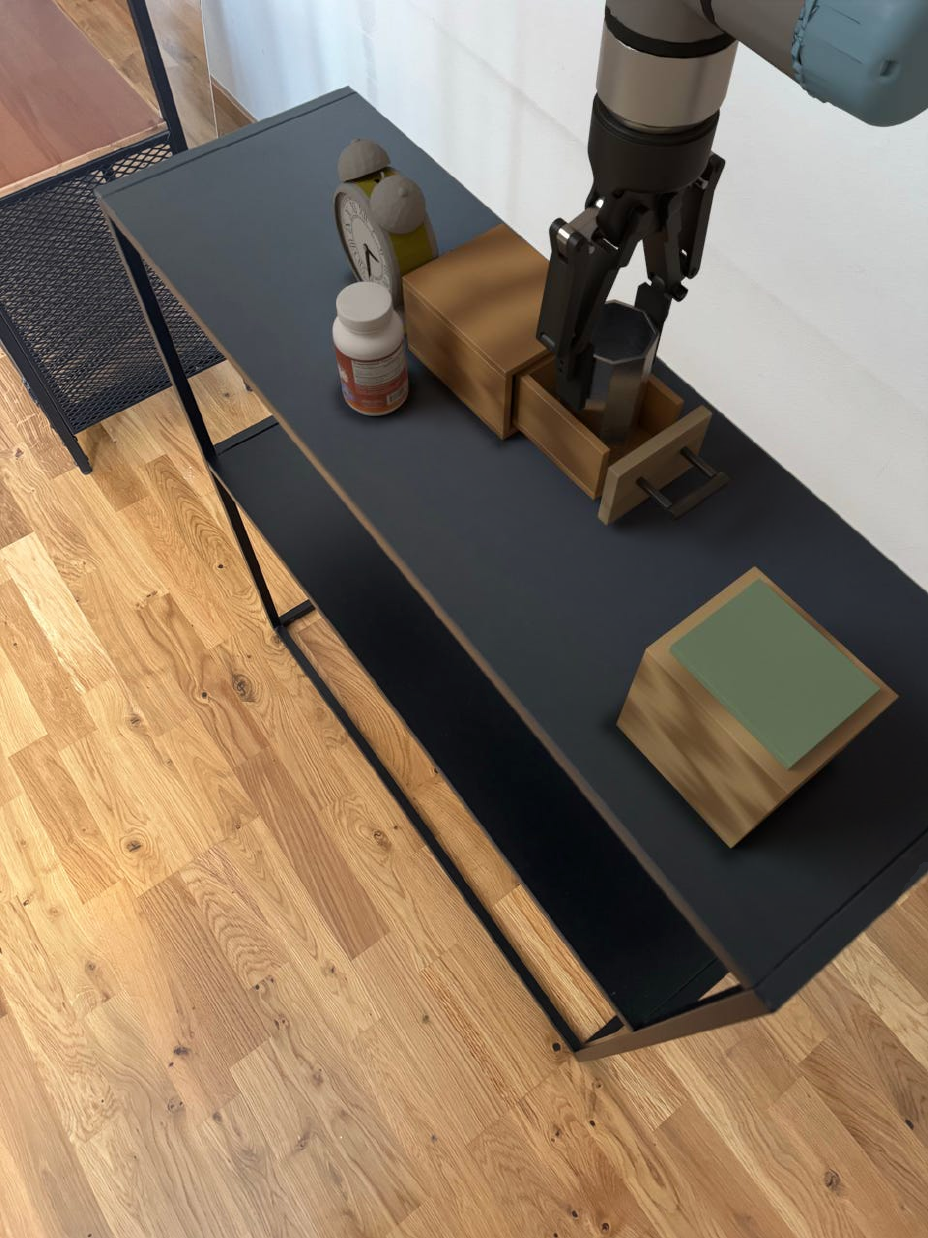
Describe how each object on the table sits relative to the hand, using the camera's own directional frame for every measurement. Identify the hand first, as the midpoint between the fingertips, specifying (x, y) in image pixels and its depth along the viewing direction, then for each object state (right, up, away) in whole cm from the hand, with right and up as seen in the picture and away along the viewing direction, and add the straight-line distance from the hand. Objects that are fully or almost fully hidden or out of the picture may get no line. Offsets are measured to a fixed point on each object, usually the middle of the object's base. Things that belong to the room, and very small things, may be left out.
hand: (605, 377), depth 72 cm
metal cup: (0, -3, +6) cm, 7 cm away
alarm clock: (-18, +13, +17) cm, 28 cm away
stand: (+8, -29, -6) cm, 31 cm away
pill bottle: (-20, +1, +11) cm, 23 cm away
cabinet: (-8, +5, +13) cm, 16 cm away
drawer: (+2, -6, +6) cm, 9 cm away
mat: (+8, -23, -17) cm, 30 cm away
